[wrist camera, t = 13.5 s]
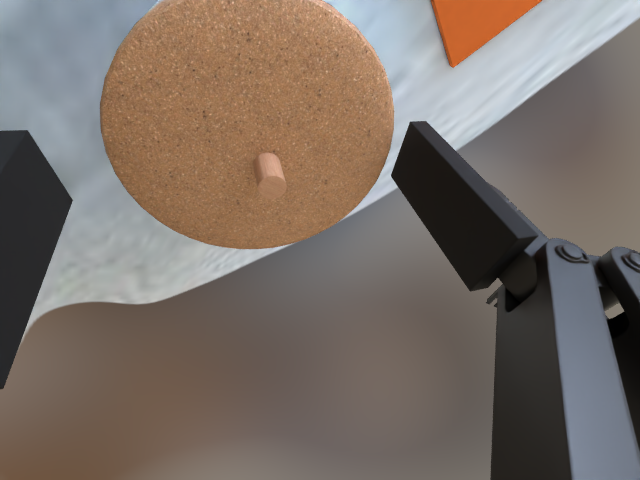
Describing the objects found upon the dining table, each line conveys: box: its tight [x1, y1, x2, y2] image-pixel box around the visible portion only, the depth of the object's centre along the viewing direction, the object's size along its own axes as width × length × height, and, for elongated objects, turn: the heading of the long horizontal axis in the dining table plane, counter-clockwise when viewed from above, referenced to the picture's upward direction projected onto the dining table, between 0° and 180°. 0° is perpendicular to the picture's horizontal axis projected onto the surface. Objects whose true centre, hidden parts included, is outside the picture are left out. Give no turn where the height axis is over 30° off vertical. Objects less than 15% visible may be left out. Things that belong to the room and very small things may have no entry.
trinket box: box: [100, 0, 394, 249], centre depth 14 cm, size 11×11×9 cm
